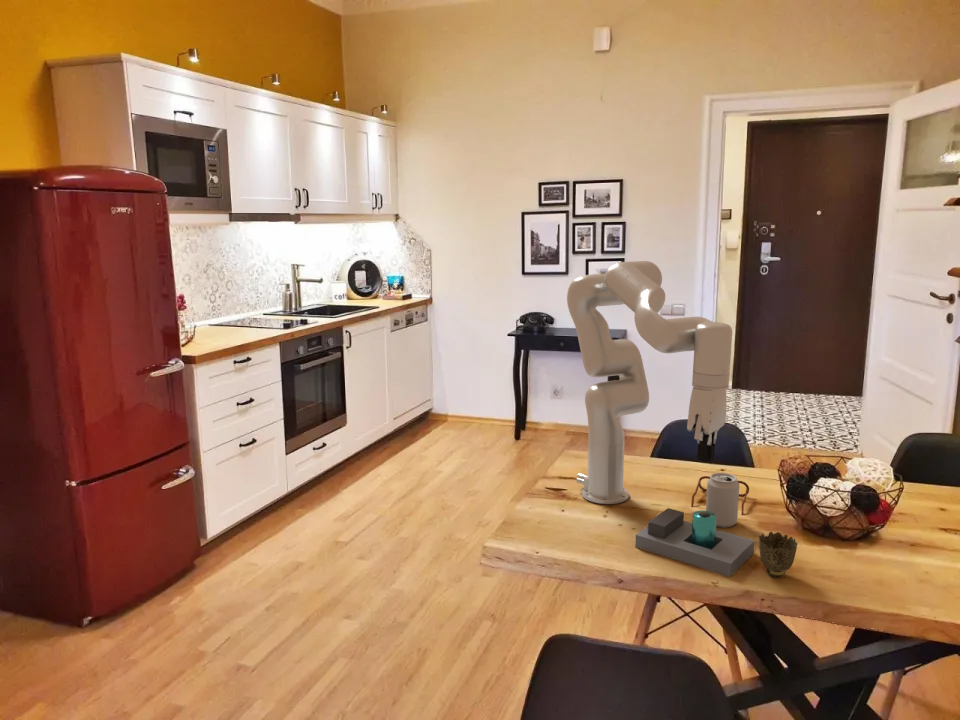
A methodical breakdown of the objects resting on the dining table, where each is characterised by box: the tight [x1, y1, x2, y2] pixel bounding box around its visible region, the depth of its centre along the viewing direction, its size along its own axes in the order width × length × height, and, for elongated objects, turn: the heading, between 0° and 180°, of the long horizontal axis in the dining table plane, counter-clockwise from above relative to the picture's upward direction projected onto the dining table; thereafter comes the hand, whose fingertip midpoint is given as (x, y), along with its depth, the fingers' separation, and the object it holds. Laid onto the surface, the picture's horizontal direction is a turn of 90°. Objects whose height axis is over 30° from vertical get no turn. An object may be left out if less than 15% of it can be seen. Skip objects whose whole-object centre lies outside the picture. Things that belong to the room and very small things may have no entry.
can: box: [705, 472, 740, 529], centre depth 173 cm, size 8×8×12 cm
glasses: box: [690, 475, 750, 516], centre depth 187 cm, size 13×13×5 cm
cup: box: [758, 531, 798, 578], centre depth 148 cm, size 8×7×8 cm
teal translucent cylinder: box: [691, 509, 717, 550], centre depth 158 cm, size 5×5×9 cm
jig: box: [634, 507, 756, 578], centre depth 160 cm, size 22×14×6 cm, turn 50°
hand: (705, 460), depth 156 cm, fingers closed
